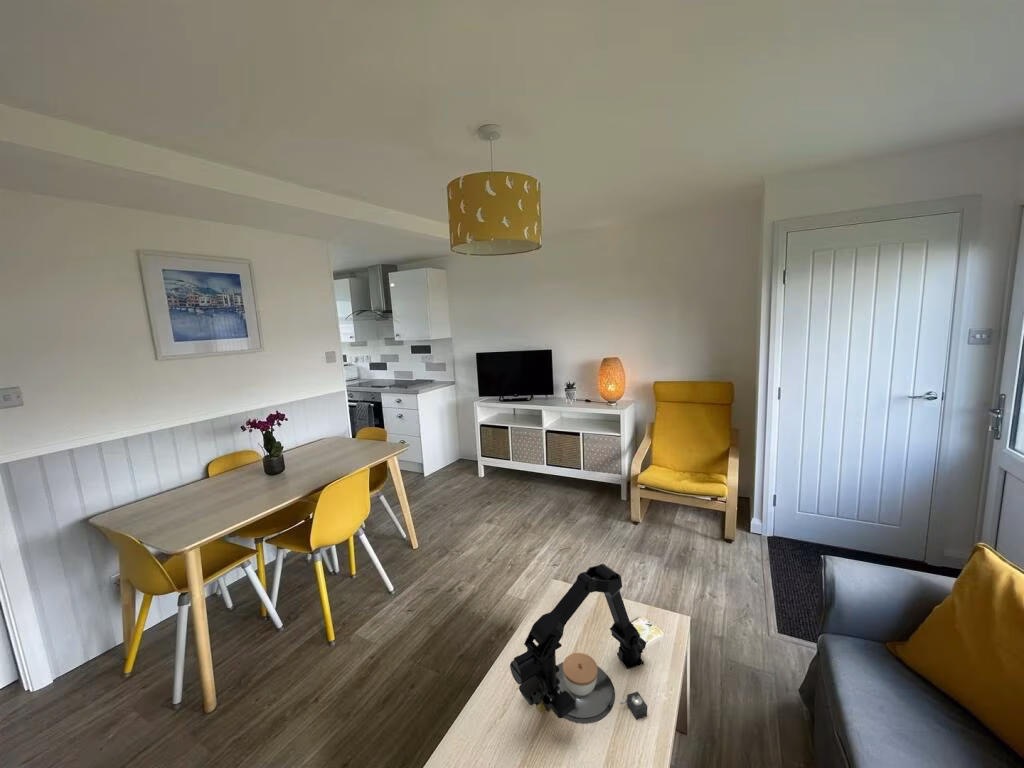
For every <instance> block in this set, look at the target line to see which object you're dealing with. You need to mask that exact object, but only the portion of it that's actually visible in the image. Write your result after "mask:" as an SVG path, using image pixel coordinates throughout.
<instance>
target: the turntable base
mask: <svg viewBox="0 0 1024 768" xmlns="http://www.w3.org/2000/svg"><path fill="white" fill-rule="evenodd" d="M607 676H608V678H609V679H610V682H611V685H612V701H611V703H610V705H609V707H608V708H607V710H606V711H605V712H604V713H602V714H601V715H599V716H597V717H594V718H590V719H577V718H573V717H570V716H568V715H566V716H564V717H563V718H562V719H565V720H567V721H569V722H571V723H576V724H593V723H597V722H598V721H601V720H603V719H604V718H605V717H607V715H609V714H610V712H611V711H612V709H613V708H614V704H615V701H616V700H615V699H616V690H615V686H614V683H613V682H612V679H611V678H610V676H609V675H608V674H607Z"/></svg>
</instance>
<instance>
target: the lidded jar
mask: <svg viewBox="0 0 1024 768" xmlns="http://www.w3.org/2000/svg"><path fill="white" fill-rule="evenodd" d="M562 662H563V676H564V681H565V684H566V686H567V688H568V689H569V690H570V691H571V692H572V693H574V694H575V695H578V696H585V695H588V694H590V693H591V692H592V691H593V689H594V688H595V685H596V682H597V674H598V668H597V666H598V664H597V662H596V661H595V659H594V658H593V657H592V656H590V655H588V654H587V653H584V652H583V653H582V652H573V653H570V654H568V655H567V656H566V657H565V658H564V660H563V661H562Z"/></svg>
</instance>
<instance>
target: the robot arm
mask: <svg viewBox="0 0 1024 768" xmlns="http://www.w3.org/2000/svg"><path fill="white" fill-rule="evenodd" d="M622 588H623V582H622V576H621V575H620V574H619V573H618V572H617V571H615V570H613V569H612V568H610V567H609V566H608V565H606V564H604V563H600V564H598V565H594V566H593V565H592V566H590V567H588V569H586V571H584V572H580V573H579V574H578V575H577V577H576V580H575V582H574V583H573V584H572V585H571V587H570V588H569V589H568V590H567V592H566V593H565V594H564V595H563V596H562V598H561V599H560V600H559V601H558V603H556V605H555V607H553V609H552V610H551V611H550V612H547V613H544V614H542V615H541V616H540V617H539V618H538V619H537V620H536V621H535V622H534V623H533V624H532V627H531V629H530V630H529V633H528V634H527V637H526V639H525V641H524V644H523V645H524V646H525V648H526V651H525V652H524V653H521V654H520V655H516V656H515V657H514V658H513V659H512V660H511V662H510V664H509V668H510V672H511V676H512V677H513V679H514V681H515V682H516V684H517V685H519V686H518V691H519V693H520V694H521V696H522V697H523V700H525V701H526V702H527V703H528V705H529V706H534V705H535V707H536V706H537V705H539V704H540V702H541V701H543V704H544V707H545V709H546V711H545V712H546V713H549V712H550V711H551V710H552V712H553V713H554V715H555V716H556V717H557V718H558V719H564V718H563V717H564V716H566V715H567V714H568V713H570V712H571V711H572V710H574V709H575V708H576V700H575V699H574V698H573V697H572V696H571V694H570V693H569V692H568V691H563V692H561V691H560V690H561V688H560V687H559V686H558V684H560V680H559V679H558V678H557V677H556V673H557V672H558V671H559V667H558V666H557V665H558V664H557V660H556V650H558V649H560V648H561V647H562V643H560V640H561V639H562V638H563V636H564V631H565V630H564V629H565V626H566V624H567V623H568V622H569V620H570V619H571V618H572V617H573V616H574V614H575V613H576V611H577V610H578V609H579V607H580V606H581V605H582V604H583V602H584V601H585V600H586V598H587V597H588V596H589V595H590V594H591V593H595V592H597V593H603V594H604V596H605V600H606V602H607V606H608V609H609V610H610V614H611V617H612V619H613V622H614V623H613V624H612V625H611V627H610V628H609V629H610V632H611V636H612V637H613V638H614V639H615V640H617V641H618V642H619V647H618V652H616V653H617V654H616V655H617V656H618V657H617V658H618V659H619V660H620V662H621V663H622V664H623V666H624V668H625V669H627V670H629V669H632V668H635V667H638V666H641V665H644V663H645V662H644V661H643V659H642V653H643V651H644V650H645V648H646V645H647V641H646V640H644V639H643V638H642V637H641V634H640V633H639V631H638V629H637V628H636V627H635V626H634V624H632V622H631V621H630V618H629V615H628V613H627V609H626V606H625V603H624V600H623V597H622V594H621V592H620V591H621V590H622ZM534 641H535V642H536V643H537V644H536V643H535V642H534Z"/></svg>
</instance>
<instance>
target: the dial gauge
mask: <svg viewBox="0 0 1024 768" xmlns="http://www.w3.org/2000/svg"><path fill="white" fill-rule="evenodd" d="M619 704H620V705H623V704H626V706H627V707H628V709H629V710H630V712H631V714H632V716H633V717H634V718H635V720H636V721H637V720H640V719H643V718H645V717H648V705H647V703H646V702H645V700H644V699H643V697H642V696H641V694H640V693H639V691H635V692H631V693H627V694H626V699H624V700H621V701H620V702H619Z"/></svg>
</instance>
